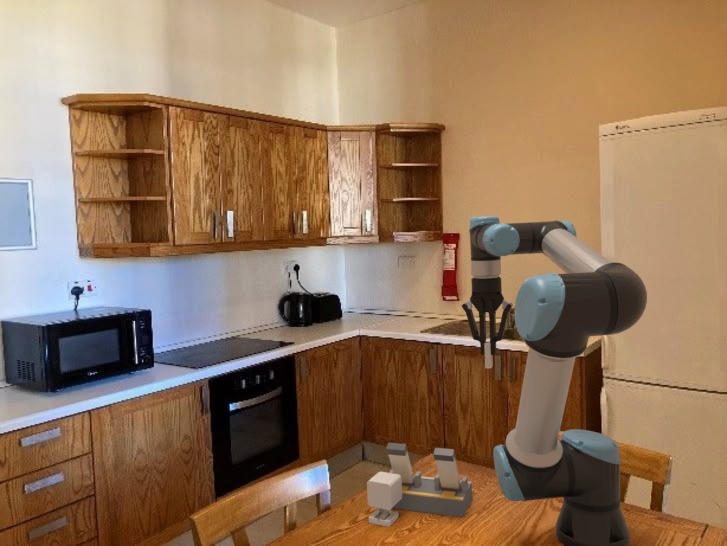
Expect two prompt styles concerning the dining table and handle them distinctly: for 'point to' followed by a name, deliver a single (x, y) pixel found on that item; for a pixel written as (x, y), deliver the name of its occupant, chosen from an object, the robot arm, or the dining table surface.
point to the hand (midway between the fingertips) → (488, 367)
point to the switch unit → (435, 496)
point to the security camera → (384, 497)
